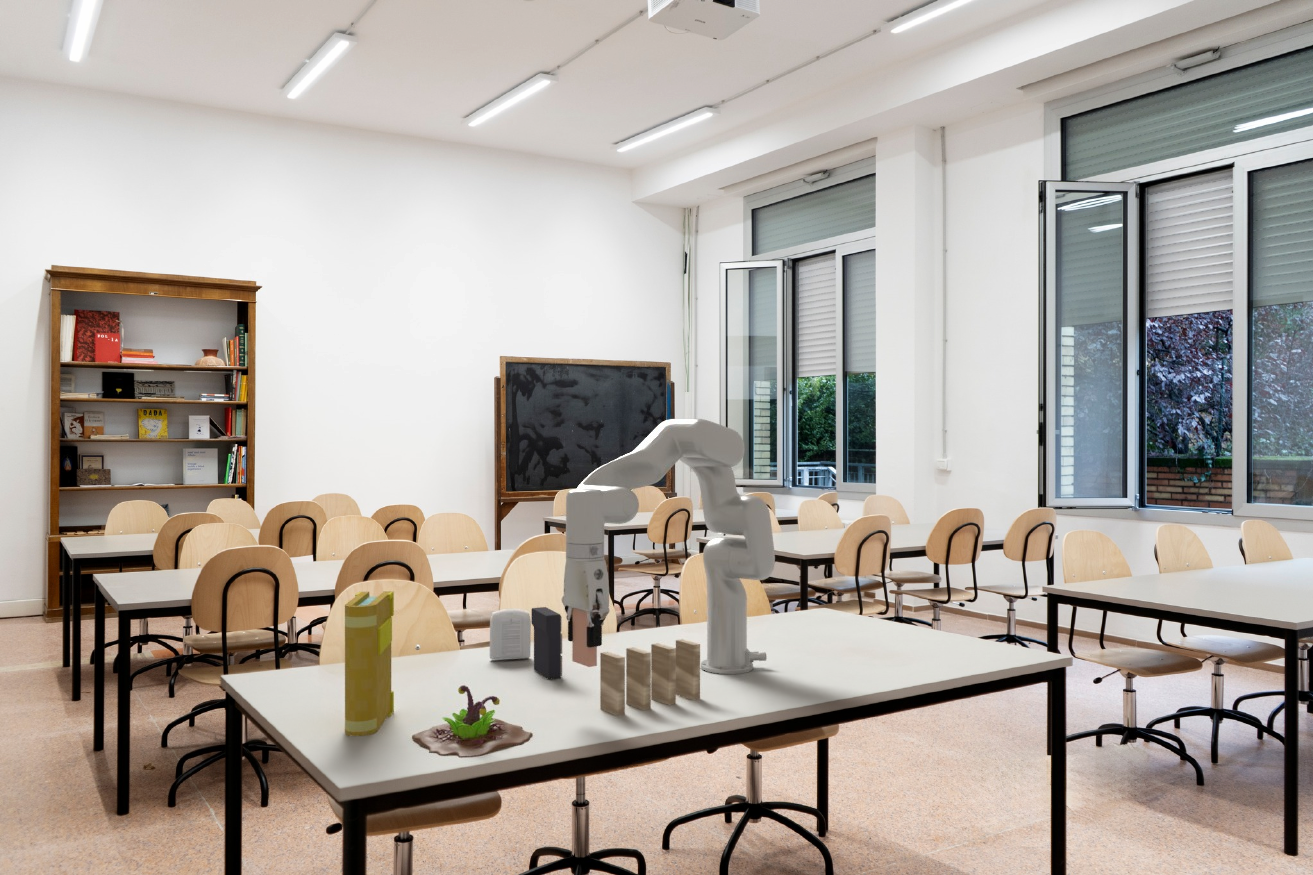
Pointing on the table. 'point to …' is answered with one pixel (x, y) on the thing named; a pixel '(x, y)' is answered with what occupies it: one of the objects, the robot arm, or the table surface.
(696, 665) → the domino
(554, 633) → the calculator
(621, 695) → the domino
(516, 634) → the grey headstone
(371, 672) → the book
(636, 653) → the domino
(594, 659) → the domino
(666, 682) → the domino
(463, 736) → the plant
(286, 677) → the table surface
